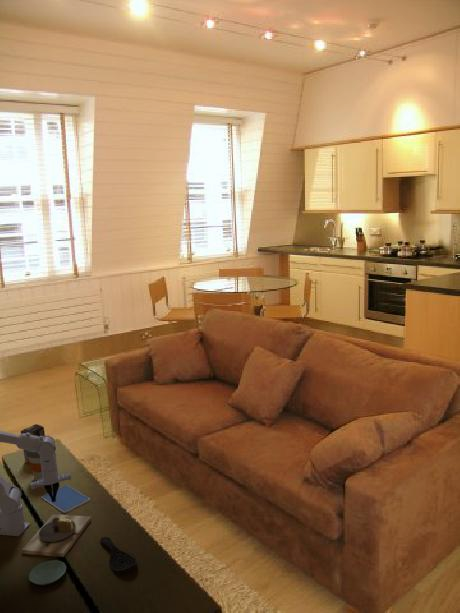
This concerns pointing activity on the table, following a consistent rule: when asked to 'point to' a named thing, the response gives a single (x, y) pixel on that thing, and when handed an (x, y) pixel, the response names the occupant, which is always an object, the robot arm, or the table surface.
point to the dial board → (57, 548)
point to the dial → (57, 530)
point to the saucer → (47, 572)
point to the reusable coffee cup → (35, 464)
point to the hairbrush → (118, 557)
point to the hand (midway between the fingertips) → (53, 500)
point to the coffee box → (33, 430)
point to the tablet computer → (67, 499)
